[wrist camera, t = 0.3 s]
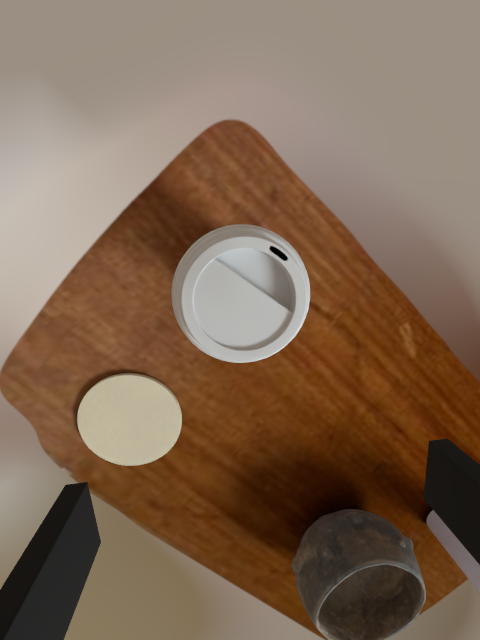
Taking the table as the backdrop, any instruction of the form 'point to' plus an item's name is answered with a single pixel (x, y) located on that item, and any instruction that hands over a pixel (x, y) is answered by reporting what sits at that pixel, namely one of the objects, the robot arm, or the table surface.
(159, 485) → the table surface
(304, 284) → the coffee cup
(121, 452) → the cream mat
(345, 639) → the bowl
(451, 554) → the perfume bottle
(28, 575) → the robot arm
